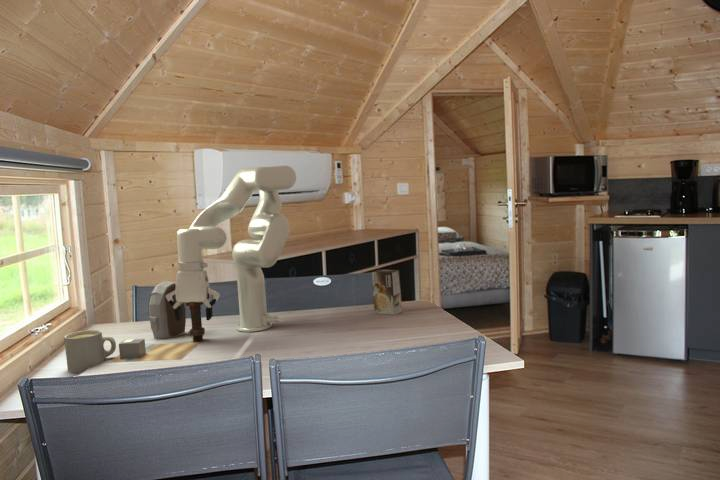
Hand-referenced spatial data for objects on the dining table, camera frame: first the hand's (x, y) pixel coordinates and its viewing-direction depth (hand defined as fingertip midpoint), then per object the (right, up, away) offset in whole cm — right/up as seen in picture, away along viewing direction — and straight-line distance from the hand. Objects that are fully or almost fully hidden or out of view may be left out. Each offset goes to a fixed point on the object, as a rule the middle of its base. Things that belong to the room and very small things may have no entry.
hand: (194, 319), depth 189 cm
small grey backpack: (-13, -8, +13) cm, 20 cm away
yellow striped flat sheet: (-9, -10, -9) cm, 16 cm away
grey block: (-15, -9, -12) cm, 21 cm away
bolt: (+1, -9, +1) cm, 9 cm away
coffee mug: (-26, -12, -15) cm, 32 cm away
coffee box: (+64, -2, +33) cm, 72 cm away
